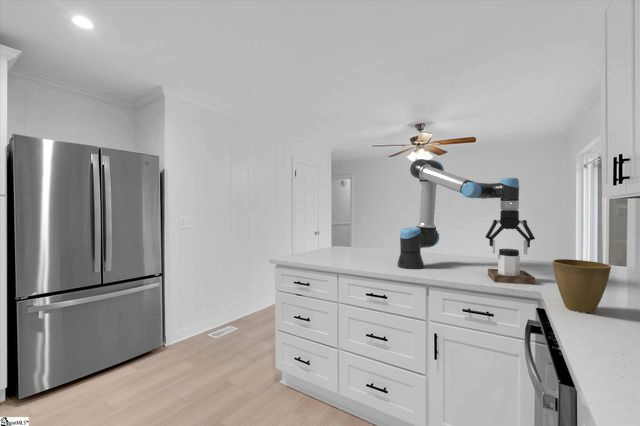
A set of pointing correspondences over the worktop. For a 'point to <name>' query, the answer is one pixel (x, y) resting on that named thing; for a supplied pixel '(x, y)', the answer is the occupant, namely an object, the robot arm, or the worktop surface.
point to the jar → (509, 262)
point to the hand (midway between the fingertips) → (509, 253)
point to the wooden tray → (511, 277)
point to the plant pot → (581, 283)
